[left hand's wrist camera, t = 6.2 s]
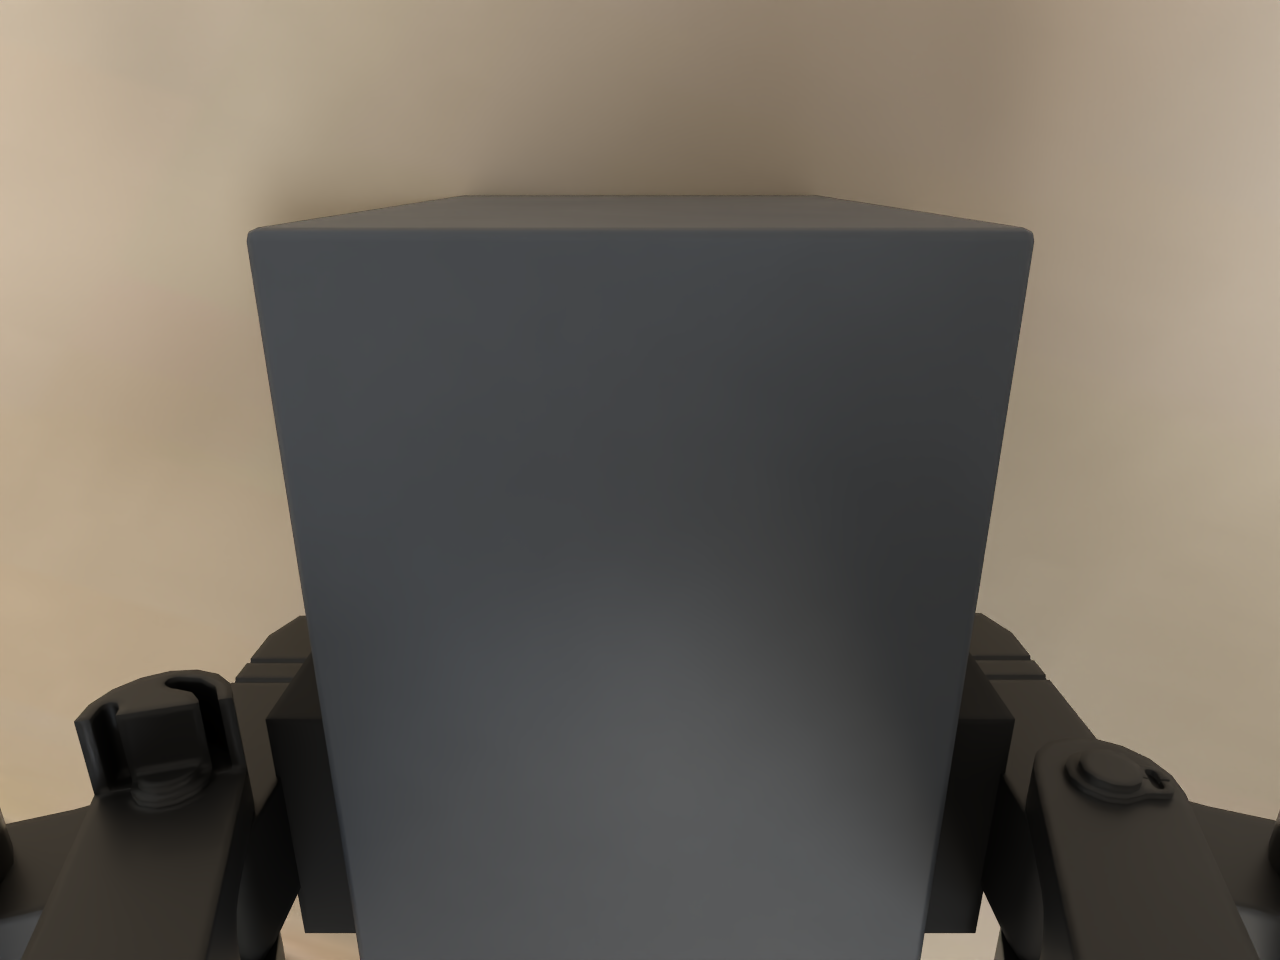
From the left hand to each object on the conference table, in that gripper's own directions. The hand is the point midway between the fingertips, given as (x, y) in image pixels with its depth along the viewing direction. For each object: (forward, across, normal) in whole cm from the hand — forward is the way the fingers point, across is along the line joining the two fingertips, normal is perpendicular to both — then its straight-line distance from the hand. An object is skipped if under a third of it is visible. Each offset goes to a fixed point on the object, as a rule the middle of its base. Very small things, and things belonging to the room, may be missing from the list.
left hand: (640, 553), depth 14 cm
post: (+1, 0, -21) cm, 21 cm away
